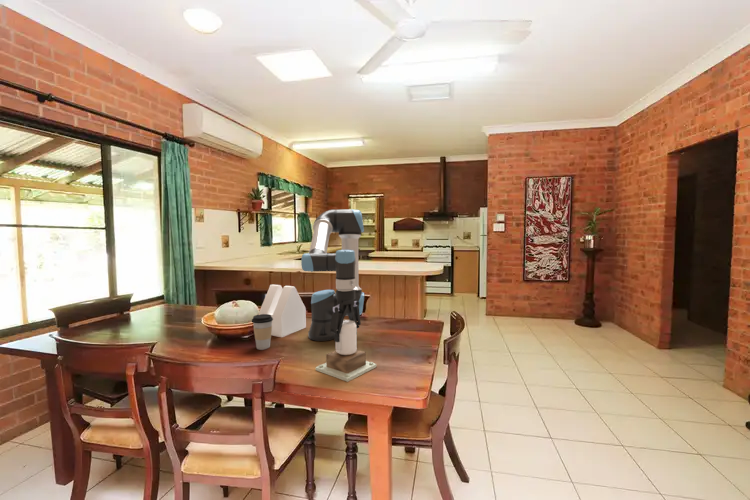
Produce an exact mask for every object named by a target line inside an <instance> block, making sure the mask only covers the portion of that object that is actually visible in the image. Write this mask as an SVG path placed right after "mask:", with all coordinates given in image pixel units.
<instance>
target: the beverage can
mask: <svg viewBox="0 0 750 500" xmlns="http://www.w3.org/2000/svg"><path fill="white" fill-rule="evenodd" d="M340 333H342V350H341V351H340V350H337V349H336V348H335V351H336V352H337V353H339V354H341V355H350V354H353V353H355V352H356V351H357V350H358V348H357V344H358V342H357V335H358V332H357V333H356V324H355V321H352V320H349V319H344V320H343V324H342V328H341V331H340Z"/></svg>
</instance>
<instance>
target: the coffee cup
mask: <svg viewBox="0 0 750 500" xmlns="http://www.w3.org/2000/svg"><path fill="white" fill-rule="evenodd" d="M272 320H273V318H272V317H271V315H269V314H260V315H259V314H256V315H254V316H253V317H252V319H251V323H252V325H253V335H254V339H255V340H254V341H255V347H256V350H260V351H263V350H267V349H269V348H271V338H272V335H271V331H272Z"/></svg>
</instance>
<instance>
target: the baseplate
mask: <svg viewBox="0 0 750 500" xmlns="http://www.w3.org/2000/svg"><path fill="white" fill-rule="evenodd" d="M375 368H377V363H375V362H373V361H368V360H366V365H364V366H362V367H360V368H358V369H356V370H354V371H352V372H350V373H348V374H347V373H344V372H341V371H338V370H335V369H332V368H329V367H327V363H326V362H325V363H322V364H318V365H317V366H315V371H316V372H320V373H322V374H325V375H328V376H331V377H334V378H337V379H339V380H342V381H344V382H347V383H348V382H350V381H352V380H354V379H356V378H357V377H360V376H361V375H363V374H366V373H367V372H369V371H371V370H373V369H375Z"/></svg>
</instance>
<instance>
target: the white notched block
mask: <svg viewBox="0 0 750 500" xmlns="http://www.w3.org/2000/svg"><path fill="white" fill-rule="evenodd" d="M260 307H261V308H260V309H259V312H258V315H259V314H269V315H271V317H272V318H273V320H272V331H271V337H272V336H274V337H278V338H284V337H287V336H289V335H291V334H293V333H294V334H295V333H296V332H298V331H302V330H303V329H305V328H307V316H306V315H307V313H306V312H307V311H306V310H307V308H306V306H305V304H304V303H303V300H302V298H301V296H300V295H299V292H298V290H297V288H296V286H292V285H285V286H283V287H282V285H281V284H270V285H269V287H268V290H267V293H266V295H265V297H264V299H263V302H262V304H261V306H260Z"/></svg>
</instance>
